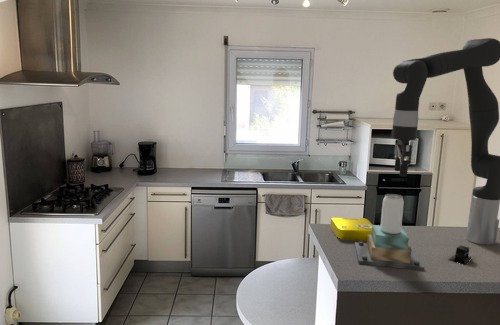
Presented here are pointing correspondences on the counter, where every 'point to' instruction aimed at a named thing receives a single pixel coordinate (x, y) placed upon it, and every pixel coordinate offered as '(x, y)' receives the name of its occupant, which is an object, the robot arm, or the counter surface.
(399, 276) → the counter surface
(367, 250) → the brick tower
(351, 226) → the element tile
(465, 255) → the black slotted housing
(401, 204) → the can
